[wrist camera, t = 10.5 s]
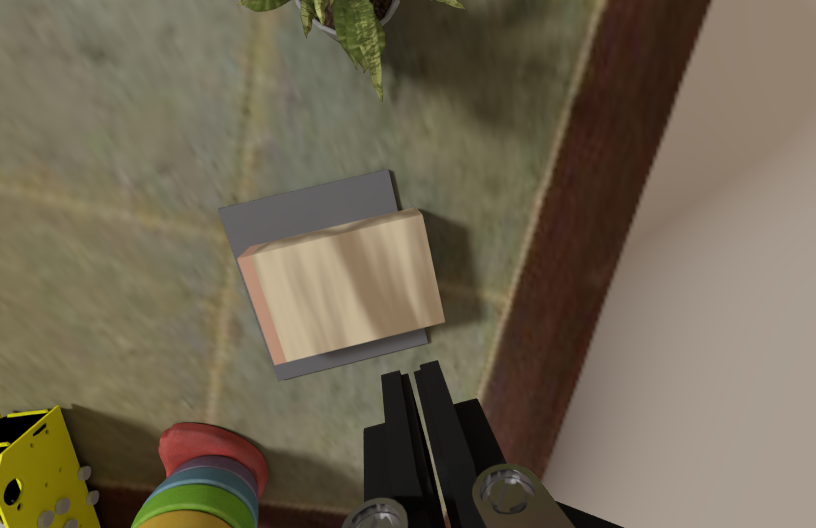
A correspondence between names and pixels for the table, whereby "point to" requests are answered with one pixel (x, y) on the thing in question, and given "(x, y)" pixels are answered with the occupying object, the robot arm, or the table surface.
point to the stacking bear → (205, 481)
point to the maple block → (343, 285)
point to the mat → (308, 215)
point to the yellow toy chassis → (42, 474)
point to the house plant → (348, 26)
